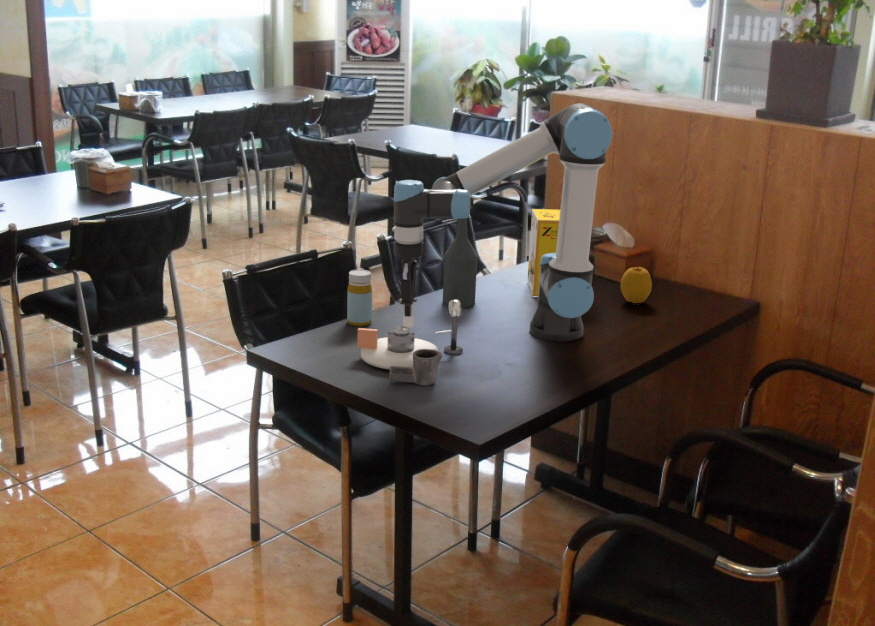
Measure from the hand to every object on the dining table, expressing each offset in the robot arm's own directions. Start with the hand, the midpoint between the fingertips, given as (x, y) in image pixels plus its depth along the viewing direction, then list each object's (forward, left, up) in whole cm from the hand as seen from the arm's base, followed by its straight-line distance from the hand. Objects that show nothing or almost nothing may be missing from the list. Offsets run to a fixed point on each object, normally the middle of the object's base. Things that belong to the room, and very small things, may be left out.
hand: (408, 326), depth 259 cm
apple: (-63, -54, -6) cm, 83 cm away
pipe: (-6, +25, -6) cm, 26 cm away
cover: (+1, +9, -3) cm, 9 cm away
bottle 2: (-9, -40, -6) cm, 41 cm away
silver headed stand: (-11, +2, -6) cm, 13 cm away
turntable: (+1, +10, -5) cm, 11 cm away
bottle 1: (+17, -16, -6) cm, 24 cm away
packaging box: (-38, -61, -6) cm, 72 cm away
